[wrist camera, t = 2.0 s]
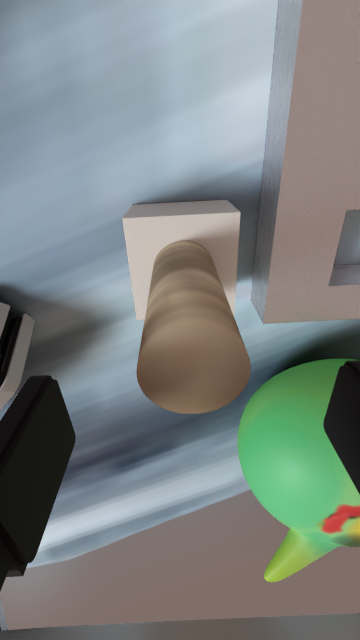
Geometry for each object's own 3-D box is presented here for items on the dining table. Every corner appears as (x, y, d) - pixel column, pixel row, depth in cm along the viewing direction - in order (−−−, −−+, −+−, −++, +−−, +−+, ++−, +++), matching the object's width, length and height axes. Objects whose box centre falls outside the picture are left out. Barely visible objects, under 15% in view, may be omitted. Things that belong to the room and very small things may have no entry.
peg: (150, 242, 18) (129, 329, 9) (214, 238, 18) (255, 323, 9) (155, 300, 20) (143, 416, 11) (213, 297, 20) (246, 411, 11)
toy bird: (418, 326, 27) (628, 477, 15) (363, 439, 36) (467, 595, 23) (231, 332, 27) (284, 489, 15) (221, 444, 36) (248, 604, 23)
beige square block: (132, 204, 21) (122, 218, 17) (226, 199, 21) (240, 212, 17) (142, 290, 25) (136, 319, 20) (223, 286, 25) (234, 314, 20)
